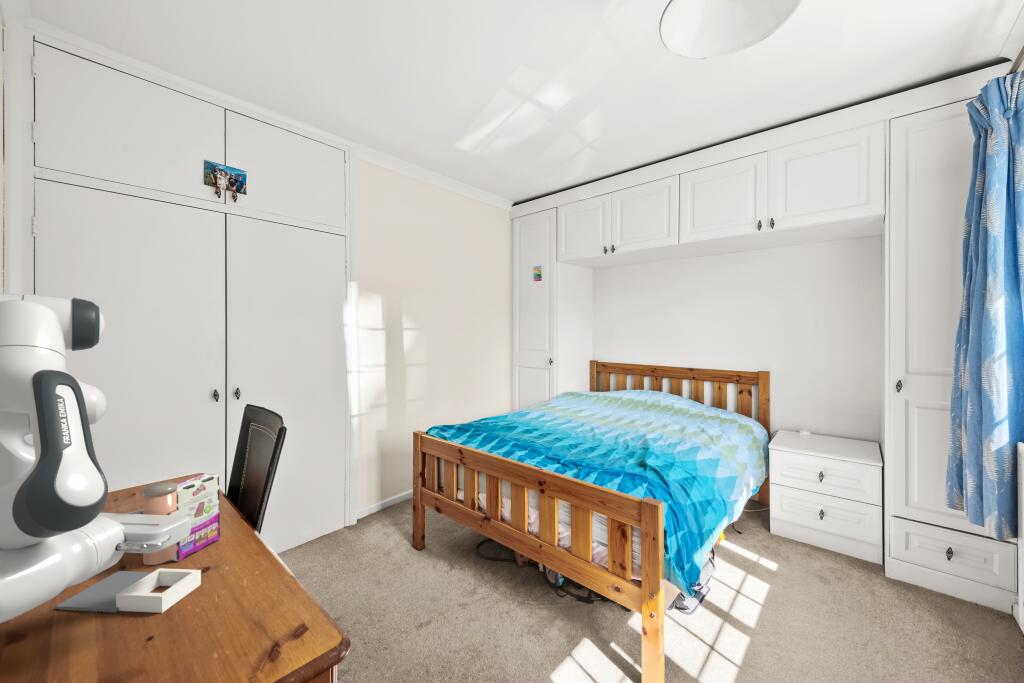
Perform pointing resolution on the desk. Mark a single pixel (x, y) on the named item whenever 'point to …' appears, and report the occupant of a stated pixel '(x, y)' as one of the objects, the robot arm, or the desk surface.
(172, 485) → the canister
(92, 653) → the desk surface
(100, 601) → the mat
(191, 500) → the candy bar box
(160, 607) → the frame
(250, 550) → the desk surface
